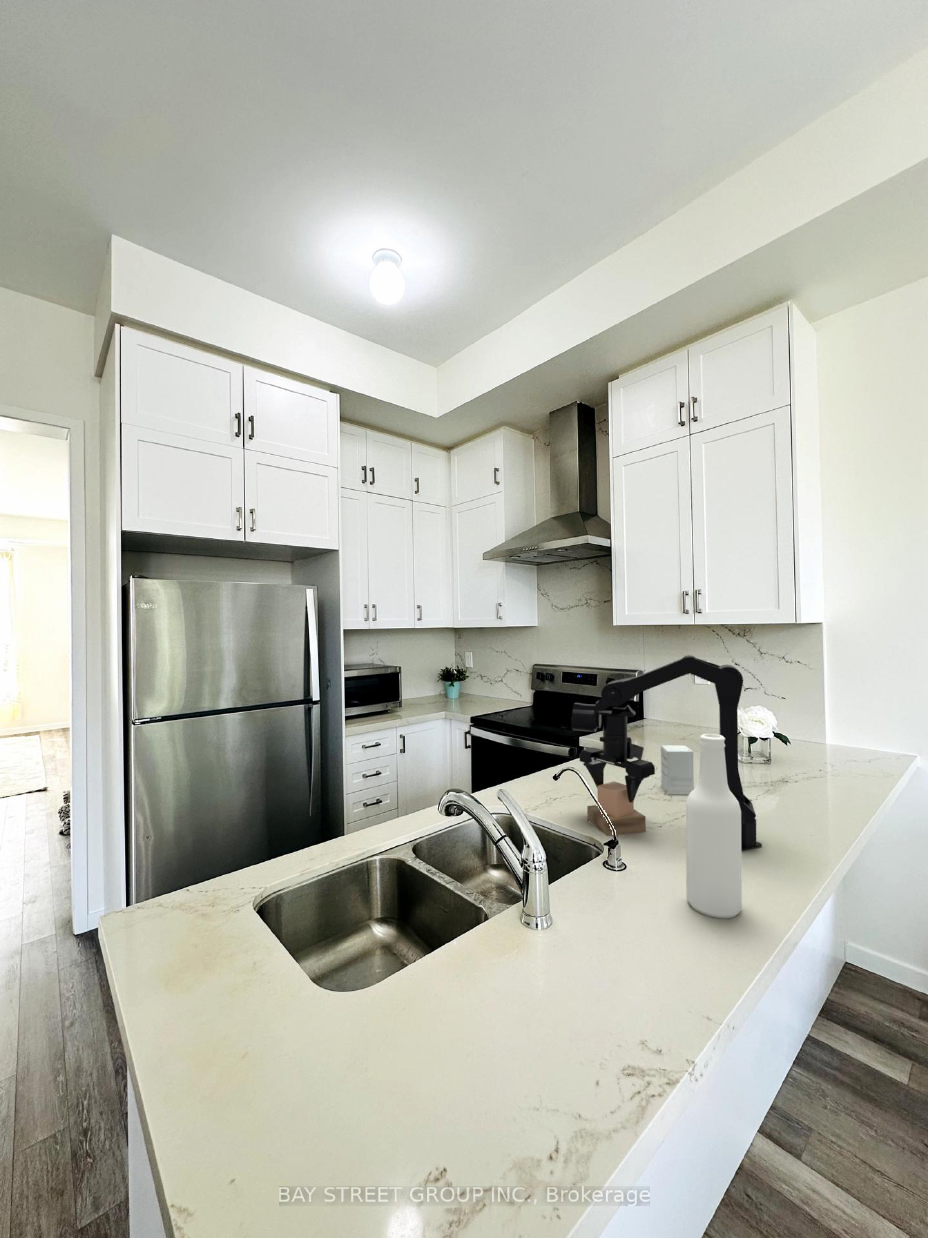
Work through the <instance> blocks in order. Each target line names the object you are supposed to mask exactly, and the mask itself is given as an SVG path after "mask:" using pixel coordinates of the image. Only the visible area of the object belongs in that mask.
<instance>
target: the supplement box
mask: <svg viewBox="0 0 928 1238" xmlns="http://www.w3.org/2000/svg"><path fill="white" fill-rule="evenodd" d="M660 773H661V775H660V778H661V779H660V785H661V788H662V789H663V790H664V791H665V792H666V794H668V795H680V796H681V795H682V796H683V795H687V796H688V795H689V794H690V793H691V791H692V790H693V789H694V788H695V785H694V784H695V783H694V782H695V780H694V779H695V778H694V751H693V750H692V749H691V748H689V747H687V745H685V744H684V745H681V744H680V745H675V744H672V745H671V744H670V745H669V744H668V745H667V744H663V745H662V744H661V745H660Z"/></svg>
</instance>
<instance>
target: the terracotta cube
mask: <svg viewBox="0 0 928 1238" xmlns="http://www.w3.org/2000/svg"><path fill="white" fill-rule="evenodd" d="M596 788H597V789H596V790H597V803H598V802H599V803H600V805H601V806H602V808H603V810H605V812H606V813H607V814H609V815H612V816H614V817H617V818H618V817H621V816H624V815H627V814H630V813H633V812H634V808H635V804H634V802H635V800H634V801H633V802H632V803H630V802H629V799H628V794H627V788H626V784H623V783H621V782H617V781H614V780H613V781H609V782H607V783H604V784H602V785H598V786H597V787H596ZM598 810H599V811H600V809H599V808H598Z"/></svg>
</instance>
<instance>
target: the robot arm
mask: <svg viewBox="0 0 928 1238" xmlns="http://www.w3.org/2000/svg"><path fill="white" fill-rule="evenodd" d="M689 674H690V675H693V676H695V677H697V678H700V679H701V680H702V679H703V680H704V681H707V682H710V683H712V684H714V688H715V692H716V696H717V701H718V702H717V703H718V707H719V708H718V715H719V716H718V717H719V718H718V720H719V722H718V723H719V726H718V727H719V735H721V736H723V737H724V738H725V740H724V744H725V747H724V751H725V762H726V773H727V784H728V787H729V790H730V791H731V793H732V794H733V795H734V796H735V797H736V799H737V800H738V802H739V806H740V809H741V851H745V850H750V849H755V848H761V847H762V846H763V844H762V843H761V842H758V841H757V818H756V817H757V814H756V811H755V808H754V805H753V802H752V801H751V800H750V799H749V798H748V797H747V796H746V795H745V794H744V790H743V785H742V781H741V777H740V776H741V775H740V771H739V735H738V734H739V733H738V730H739V729H738V727H739V726H738V725H739V723H738V708H739V703H740V699H741V695H742V690H743V685H744V677H743V674H742V672H740V671H739V669H737V667H735V666H733V665H731V664H722V665H718V664H716V663H712V662H709V661H707V660H704V659H701V658H698V657H696V656H694V655H690V654H687V655H684V656H682V657H681V658H680V659H677V660H674V661H672V662H670V663H667V664H665V665H662V666H660V667H657V668H655V669H652V670H650V671H647V672H645V673H642V674H640V675H637V676H632V677H625V678H621V679H616V680H612V681H610V682H608V683H607V684H606V685H605V686H603V687H602V690H601V692H600V696H601V698H600V699H598V700H597V701H596V702H595V704H590V703H589V704H587V703H581V702H575V703H573V708H572V713H571V718H570V720H571V721H570V724H571V729H572V731H581V732H592V733H593V732H594V733H595V732H597V730H598V729H601V727H602V736H599V742H601V743H602V744H603V745H602V747H603V749H601V748H597V747H589V748H585V749H582V750H581V751H580V753H579V762H580V763H582V765H583V766H584V767H585V768H586V769H587V771H588V773H589V775H590V777H591V778H592V781H593V782H594V785H595V788H597V786H598V785H602V784H605V783H604V780H605V778H604V774H605V773H604V771H605V767H606V765H611V766H614V767H619V768H621V769H625V773H626V775H624V780H625V785H626V788H627V794H628V799H629V802H630V803H632V802H633V801H634V802H635V799H636V795H637V793H638V790H639V788H640V786H641V783H642V781H644V779H647V778H649V777H650V776H653V775H655V774H656V767H655V764H654V763H653V762H652V761H648V760H645V759H642V758H643V754H644V746H640V745H637V744H635V743H633V742H632V738H631V736H628V717H631V718H632V717H634V716H635V715H636V711H635V710H633V708H632V707H631V706H630V705H629V704H627V705H626V706H625V707H620V706H622V705H624V704H625V703H627V702H628V701H630V700H632V699H633V698H634V697H636V696H638V695H639V694H642V693H643V692H645V691H647V690H650V689H653V688H654V687H659V686H661V685H663V684H665V683H668V682H671V681H673V680H676V679H678V678H681V677H684V676H686V675H689ZM610 707H611V708H612V709H611V710H606V709H608V708H610ZM634 758H636V760H633V759H634ZM630 760H631V761H630Z"/></svg>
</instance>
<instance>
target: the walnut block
mask: <svg viewBox="0 0 928 1238" xmlns="http://www.w3.org/2000/svg"><path fill="white" fill-rule="evenodd" d="M596 805H597V804H594V805H593V804H591V805H587V807H586V809H587V815H586V816H587V821H588V822H589V821H590V822H591V823H592V826H594V825H595V826H596V827H595V826H594V827H595V828H597V829H598V830H599V831H600V830H601V831H600V832H601V833H603V834H604V835H606V836H607V837H612V836H613V837H614V835H612V830H611V829H610V826H609V823H607V821H606V819H605V817H603V814H601V812H600V811H599V810H598V806H596ZM607 816H608V817H609V819H610V821H611V823H612V825H613V826H614V829H615V830H616V834H617V835H616V836H621V835H622V836H623V835H628V834H636V833H643V832H646V831H647V830H646V829H647V828H646V827H647V826H646V825H647V824H646V819H647V817H646V816H645V815H644V814H643V813H641V812H639V811H638V810H637V809H634V812H633V813H630V814H627V815H624V816H621V817H618V818H617V817H614V816H612V815H609V814H607ZM590 822H589V823H590ZM591 823H590V824H591Z"/></svg>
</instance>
